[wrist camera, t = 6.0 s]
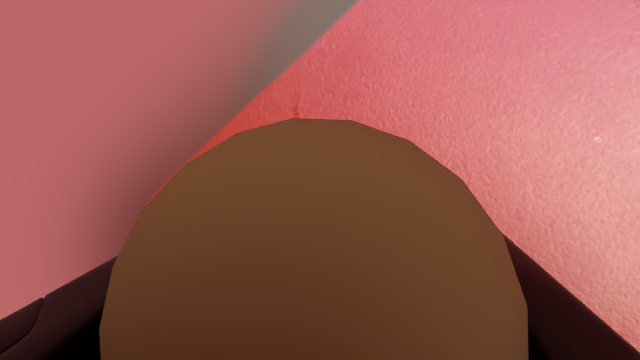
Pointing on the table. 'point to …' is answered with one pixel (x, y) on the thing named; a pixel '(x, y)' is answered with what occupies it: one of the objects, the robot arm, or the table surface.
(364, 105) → the table surface
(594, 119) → the table surface
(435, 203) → the cork
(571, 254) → the table surface
